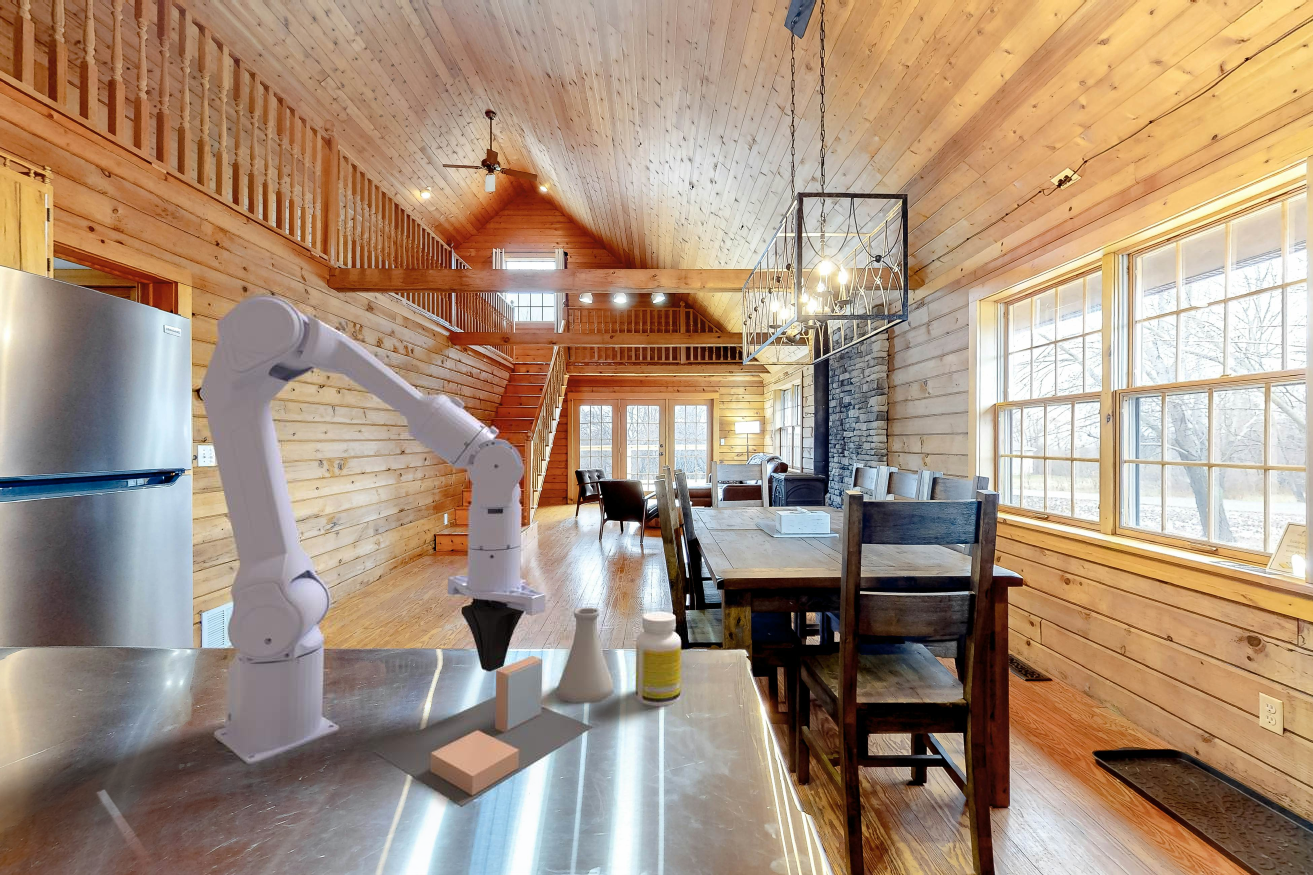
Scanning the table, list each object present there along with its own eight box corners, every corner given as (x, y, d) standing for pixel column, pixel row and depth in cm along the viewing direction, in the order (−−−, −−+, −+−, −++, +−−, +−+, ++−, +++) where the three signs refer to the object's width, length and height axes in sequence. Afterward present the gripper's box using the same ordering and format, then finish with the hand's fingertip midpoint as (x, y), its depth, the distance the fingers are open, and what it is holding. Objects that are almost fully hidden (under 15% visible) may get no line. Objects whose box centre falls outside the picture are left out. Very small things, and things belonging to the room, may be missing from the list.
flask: (605, 710, 63) (606, 621, 63) (545, 703, 64) (547, 617, 64) (621, 683, 70) (622, 604, 70) (567, 678, 71) (568, 600, 71)
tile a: (430, 752, 49) (472, 775, 46) (477, 730, 54) (519, 749, 50) (430, 771, 49) (472, 796, 46) (477, 747, 54) (518, 768, 50)
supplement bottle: (689, 701, 65) (690, 618, 65) (651, 713, 62) (652, 625, 62) (663, 685, 69) (664, 607, 70) (626, 695, 66) (627, 613, 67)
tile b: (495, 727, 57) (496, 670, 58) (531, 709, 61) (532, 655, 62) (505, 732, 56) (506, 673, 57) (542, 714, 60) (542, 659, 61)
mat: (372, 755, 53) (372, 750, 53) (505, 695, 66) (505, 692, 66) (462, 810, 45) (462, 805, 45) (592, 730, 58) (593, 726, 58)
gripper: (566, 548, 61) (564, 671, 61) (483, 535, 69) (481, 643, 69) (517, 557, 55) (514, 693, 55) (432, 542, 64) (430, 661, 63)
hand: (492, 667), depth 62 cm, fingers closed
